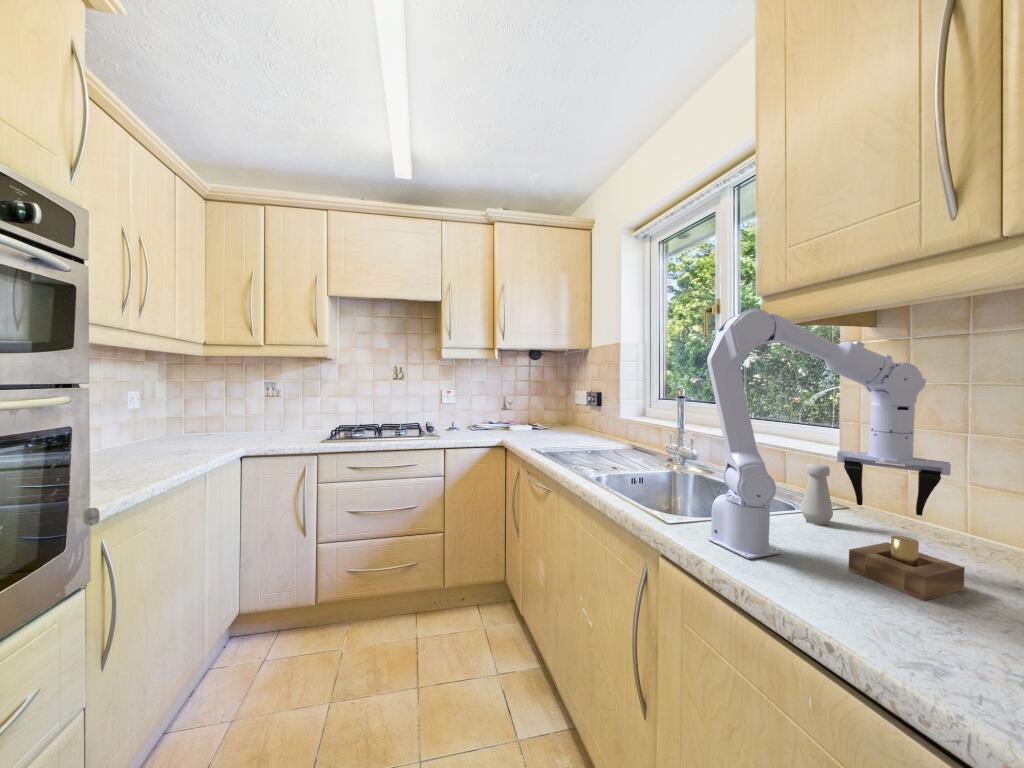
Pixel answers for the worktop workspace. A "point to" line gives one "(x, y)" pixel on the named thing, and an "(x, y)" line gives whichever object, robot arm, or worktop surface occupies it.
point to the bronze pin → (905, 550)
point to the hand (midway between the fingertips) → (888, 508)
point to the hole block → (907, 572)
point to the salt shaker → (817, 495)
